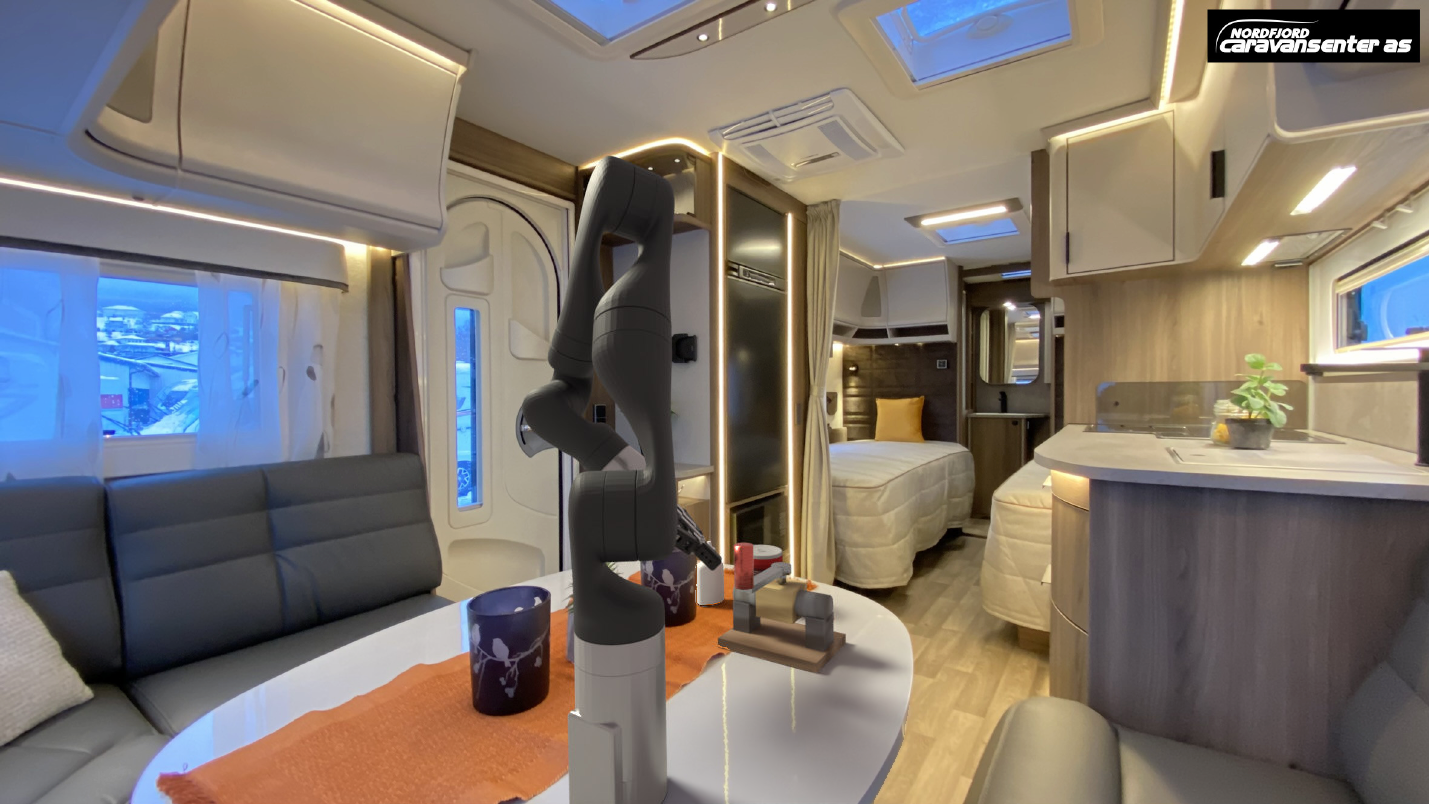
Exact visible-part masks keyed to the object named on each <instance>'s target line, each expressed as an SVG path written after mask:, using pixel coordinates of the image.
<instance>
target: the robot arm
mask: <svg viewBox="0 0 1429 804" xmlns="http://www.w3.org/2000/svg"><path fill="white" fill-rule="evenodd" d="M675 199H676V198H675V192H674V188H673V186H672V184H671V182H669V180H667V178H665V177H663V176H662V175H659V174H657V173H656V172H653V171H651V170H648V169H646V168H643V167H641V166H639V165H637V164H634V163H632V162H629V161H628V160H625V159H622V158H619V157H617V156H613V155H606V156H604V157H603V158H601V159H600V160H599V161H598V163H597V164H596V166H595V168H594V169H593V171H592V173H591V176H590V178H589V181H588V184H587V187H586V191H585V195H584V198H583V202H582V207H581V210H580V211H581V212H580V215H579V216H580V218H579V220H578V221H579V223H578V227H577V232H576V237H575V242H574V247H573V252H572V257H571V263H570V267H569V274H568V280H567V286H566V290H565V295H564V300H563V304H562V306H561V307H562V308H561V311H560V313H559V317H558V321H557V323H556V326H555V329H554V332H553V334H552V338H551V341H550V345H549V349H548V351H547V361H548V364H549V365H550V367H551V368H552V369H553V373H552V378H551V379H550V382H549V383H546V384H544V385H542V386H539V387H536V388H534V389H532V390H531V391H530V392H528V393H527V394H526V396H525V397H524V399H523V401H522V406H521V408H522V409H521V412H522V415H523V418H524V421H525V423H526V424H527V426H528V427H529V428H530V430H532V432H534V434H535V435H537V436H538V437H539V438H541V439H542V440H544V441H545V442H547V443H548V444H549V445H551V446H552V447H554V448H556V449H558V450H559V451H561V452H563V453H564V454H566V455H568V456H570V457H572V458H574V459H575V460H576V461H577V462H578V463H579V464H580V465H581V466H582V467H583V468H584V469H585V470H586V471H582V472H580V473H579V474H577V475H576V476H575V478H574V479H573V480H572V482H571V486H570V489H569V495H568V500H567V501H568V503H567V504H568V507H567V509H568V510H567V521H568V535H569V536H568V538H569V547H570V559H571V575H572V608H573V609H572V611H573V649H574V651H573V652H574V654H573V658H574V659H573V660H574V661H573V662H574V663H573V664H574V665H573V666H574V670H573V671H574V709H573V710H571V711H569V712H568V713H567V741H568V743H567V744H568V745H567V748H568V750H567V751H568V754H567V755H568V757H567V758H568V795H569V796H568V801H569V804H662V803H663V802H664V800H665V797H666V795H667V793H668V751H667V750H668V748H667V747H668V746H667V689H666V688H667V684H666V682H667V681H666V677H667V676H666V624H665V623H666V620H665V619H666V617H665V616H666V615H665V614H666V613H665V612H666V610H665V602H664V600H663V597H662V596H661V595H660V593H659V592H657V591H656V590H654V589H652V588H650V587H649V586H645V585H642V584H639V583H637V582H635V581H634V582H633V581H631V580H629V579H626V578H624V577H622V576H621V575H619V574H617V573H616V572H615V571H614V570H612V569H611V568H610V567H609V565H607V563H623V562H624V563H625V562H626V563H628V562H629V563H632V562H655V561H656V562H657V561H662V560H667V559H668V558H669V557H671V555H672V554H673V553H674V550H675V548H676V549H678V550H680V551H682V552H683V553H684V554H686V555H688V556H690V555H691V556H692V555H695V557H696V558H698V560H700V562H701V561H702V562H703V563H704V564H705V565H706V566H707V567H708V568H709V569H710V570H711V571H713V570H715V569H716V568H717V567H718V566H719V565H720V564H721V562H722V559H723V558H722V556H721V555H720V554H719V553H718V552H717V551H715V550H714V549H713V548H712V547H713V546H712V547H711V546H710V545H709V544H708V543H707V541H706V538H705V536H704V532H703V531H702V530H701V528H700V527H699V525H698V524H697V523H696V522H695V520H694V519H693V518H692V516H691V515H690V514H689V513H688V511H687V509H686V508H684V507H681V505H680V504H678V499H677V496H678V495H677V483H676V469H675V456H674V443H673V430H672V429H673V428H672V424H673V423H672V368H673V367H672V366H673V361H672V360H673V347H672V346H673V344H672V343H673V340H672V337H673V336H672V335H673V334H672V333H673V332H672V327H673V326H672V325H673V324H672V315H671V314H672V313H671V311H672V310H671V260H672V259H671V257H672V256H671V255H672V247H673V234H674V223H675V207H676V200H675ZM605 232H607V233H610V234H613V235H615V236H617V237H621V238H625V239H626V240H630V241H633V242H635V244H636V246H637V248H638V252H637V253H638V255H637V259H636V260H635V261H634V263H632V265H631V266H630V268H629V269H628V271H626V272H625V273H624V274H623V275H622V276H621V277H620V278H619V279H617V281H616V282H615V283H613V285H612V286H610V287H609V289H608V290H607V291H606V290H605V287H604V282H603V277H602V271H601V265H600V249H601V243H602V238H603V235H604V233H605ZM595 374H596V375H597V378H598V380H599V381H600V383H601V385H602V386H603V387H604V389H605V391H606V392H607V394H608V395H609V396H610V398H611V399H612V401H613V402H614V403H615V404H616V406H617V407H618V408H619V410H620V411H621V413H622V414H623V416H624V417H625V419H626V420H627V422H628V424H629V426H630V427H631V429H632V431H633V433H634V435H635V436H636V439H637V442H638V444H639V446H640V448H641V451H642V454H641V453H640V452H639V451H637V450H636V449H634V447H632V446H631V445H630V444H629V443H628V442H627V441H626V440H625V439H624V438H623V437H622V436H621V434H620V435H619V433H618V432H617V431H616V430H615V429H613V427H611V426H610V425H608V423H605V422H591V421H589V420H588V419H587V418H585V417H583V416H584V415H585V413H586V411H587V409H588V407H589V405H590V402H591V399H592V398H591V397H592V393H593V386H594V379H595ZM722 563H723V562H722Z"/></svg>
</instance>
